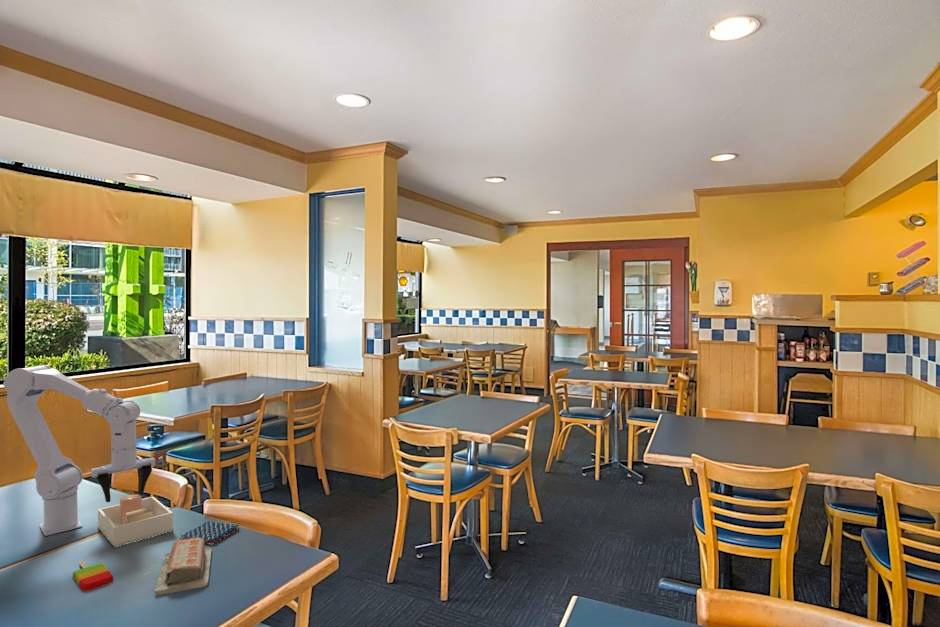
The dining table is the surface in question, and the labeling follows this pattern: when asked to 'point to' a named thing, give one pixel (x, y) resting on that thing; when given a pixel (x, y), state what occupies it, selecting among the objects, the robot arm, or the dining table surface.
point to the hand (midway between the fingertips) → (124, 497)
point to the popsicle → (92, 576)
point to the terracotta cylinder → (129, 505)
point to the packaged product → (184, 567)
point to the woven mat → (211, 532)
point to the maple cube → (138, 515)
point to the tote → (135, 523)
